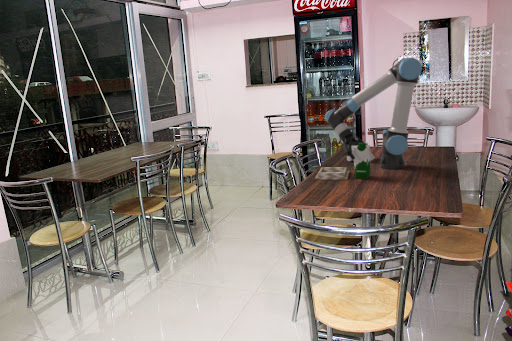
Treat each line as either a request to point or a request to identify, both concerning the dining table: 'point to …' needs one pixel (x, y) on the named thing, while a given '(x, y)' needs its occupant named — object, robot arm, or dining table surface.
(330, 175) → the tray
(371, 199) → the dining table surface
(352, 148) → the cable organizer
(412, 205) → the dining table surface
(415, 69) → the robot arm
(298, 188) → the dining table surface
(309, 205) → the dining table surface
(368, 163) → the milk carton
